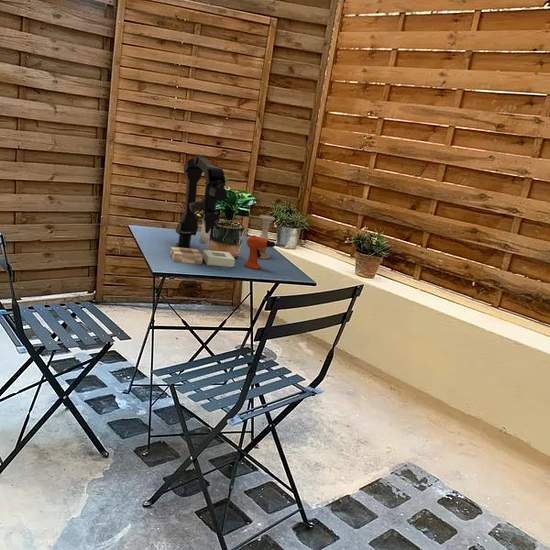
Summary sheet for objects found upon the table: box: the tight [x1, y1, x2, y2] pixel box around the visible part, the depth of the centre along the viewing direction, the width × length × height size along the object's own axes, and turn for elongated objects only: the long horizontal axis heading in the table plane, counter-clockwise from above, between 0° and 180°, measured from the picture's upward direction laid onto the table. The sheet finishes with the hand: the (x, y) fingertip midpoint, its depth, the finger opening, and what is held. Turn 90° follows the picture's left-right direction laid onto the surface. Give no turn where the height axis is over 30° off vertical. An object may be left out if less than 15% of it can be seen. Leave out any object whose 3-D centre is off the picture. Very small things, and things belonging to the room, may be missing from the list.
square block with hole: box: [201, 249, 236, 268], centre depth 243 cm, size 12×12×4 cm
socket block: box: [169, 246, 203, 265], centre depth 238 cm, size 12×12×4 cm
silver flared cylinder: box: [199, 218, 212, 245], centre depth 237 cm, size 4×4×11 cm
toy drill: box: [243, 235, 286, 270], centre depth 241 cm, size 5×19×15 cm, turn 67°
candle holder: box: [258, 214, 276, 260], centre depth 265 cm, size 9×9×20 cm
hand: (205, 232), depth 237 cm, fingers closed on silver flared cylinder, 4 cm apart
